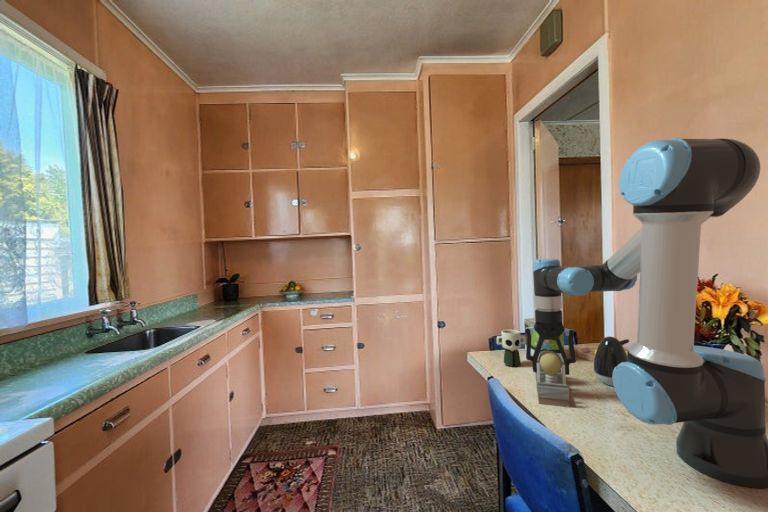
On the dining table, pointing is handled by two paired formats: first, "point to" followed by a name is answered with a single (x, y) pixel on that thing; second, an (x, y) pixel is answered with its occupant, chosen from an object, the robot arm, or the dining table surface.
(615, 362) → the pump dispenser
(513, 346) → the character mug
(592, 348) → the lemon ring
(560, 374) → the grey stacked slabs
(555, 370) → the light bulb
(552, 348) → the tea box
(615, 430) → the dining table surface
